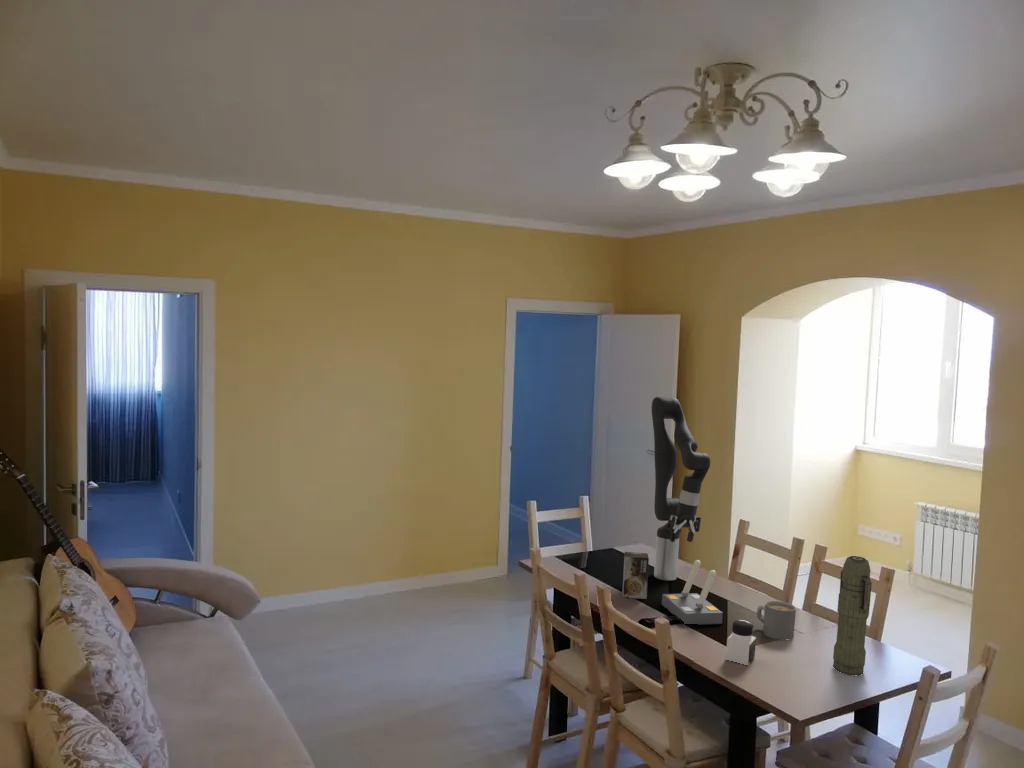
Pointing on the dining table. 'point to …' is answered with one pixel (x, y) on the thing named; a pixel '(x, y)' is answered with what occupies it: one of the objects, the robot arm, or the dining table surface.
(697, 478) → the robot arm
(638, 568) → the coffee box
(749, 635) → the medicine bottle
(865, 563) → the thermos
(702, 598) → the switch
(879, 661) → the dining table surface
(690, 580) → the switch
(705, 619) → the switch unit
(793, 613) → the coffee mug
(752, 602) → the dining table surface
